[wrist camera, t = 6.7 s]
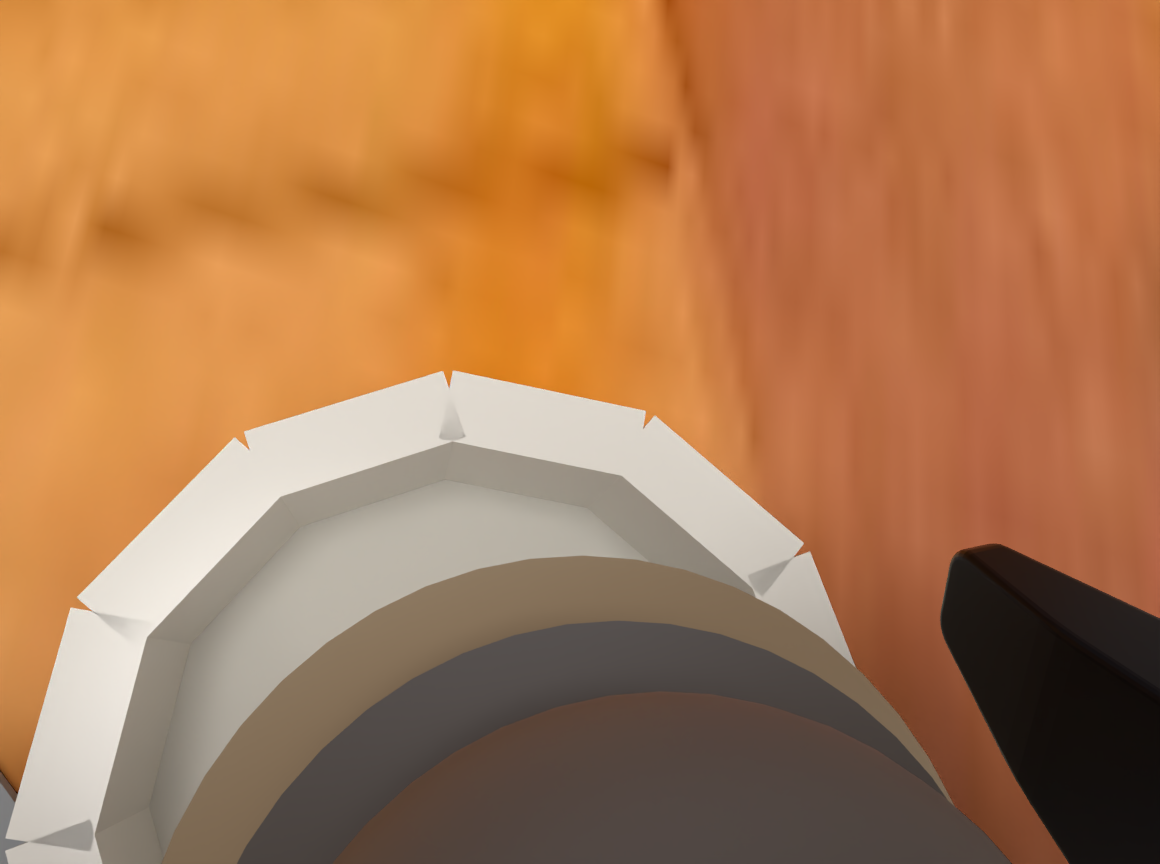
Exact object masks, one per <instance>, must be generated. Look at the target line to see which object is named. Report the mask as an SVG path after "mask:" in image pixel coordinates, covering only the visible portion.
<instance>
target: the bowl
mask: <svg viewBox="0 0 1160 864" xmlns="http://www.w3.org/2000/svg"><path fill="white" fill-rule="evenodd" d="M645 414H646V411H644V410H639V409H634V408H629V407H625V406H620V405H615V404H610V403H606V402H601V401H596V400H591V399H587V398H582V397H577V396H572V395H568V394H563V393H558V392H553V391H549V390H544V389H539V388H534V387H529V386H525V385H520V384H515V383H510V382H506V381H501V380H496V379H491V378H487V377H482V376H477V375H472V374H468V373H463V372H458V371H453V373H452V378H451V383H450V387H448V384H447V381H446V378H445V376H444V373H443V371H441V372H438V373H434V374H431V375H428V376H424V377H421V378H418V379H415V380H411V381H408V382H405V383H402V384H398V385H395V386H392V387H388V388H385V389H382V390H379V391H375V392H372V393H369V394H366V395H362V396H359V397H356V398H352V399H349V400H346V401H343V402H339V403H336V404H333V405H329V406H326V407H323V408H320V409H316V410H313V411H310V412H307V413H303V414H300V415H297V416H293V417H290V418H287V419H284V420H280V421H277V422H274V423H270V424H267V425H264V426H261V427H257V428H254V429H251V430H248V431H244V433H245V436H246V440H247V443H248V446H249V449H250V450H249V449H248V448H246V447H245V446H244V445H243V444H242V443H241V442H239V441H238V440H237V439H236V438H235V437H234V438H233V439H232V440H231V441H230V442H229V443H228V444H227V445H226V446H225V447H224V448H223V450H222V451H221V452H220V453H219V454H218V455H217V456H216V457H215V458H214V459H213V460H212V461H211V462H210V463H209V464H208V465H207V466H206V467H205V468H204V469H203V470H202V471H201V472H200V473H199V474H198V475H197V476H196V477H195V478H194V479H193V480H192V481H191V482H190V483H189V484H188V485H187V486H186V487H185V488H184V489H183V490H182V491H181V492H180V493H179V494H178V495H177V496H176V497H175V498H174V499H173V500H172V501H171V502H170V503H169V504H168V505H167V506H166V507H165V508H164V509H163V510H162V511H161V512H160V513H159V514H158V515H157V516H156V518H155V519H154V520H153V521H152V522H151V523H150V524H149V525H148V526H147V527H146V528H145V529H144V530H143V531H142V532H141V533H140V534H139V535H138V536H137V537H136V538H135V539H134V540H133V541H132V542H131V543H130V544H129V545H128V546H127V547H126V548H125V549H124V550H123V551H122V552H121V553H120V554H119V555H118V556H117V557H116V558H115V559H114V560H113V561H112V562H111V563H110V564H109V565H108V566H107V567H106V568H105V569H104V570H103V571H102V572H101V573H100V574H99V575H98V576H97V577H96V578H95V579H94V580H93V581H92V582H91V583H90V585H89V586H88V587H87V588H86V589H85V590H84V591H83V592H82V593H81V594H80V595H79V596H78V597H77V598H78V599H79V600H80V601H81V602H83V603H84V604H85V605H86V606H87V607H88V608H89V609H91V610H92V611H93V612H92V611H87V610H81V609H75V608H71V609H70V612H69V616H68V619H67V623H66V626H65V630H64V633H63V637H62V640H61V644H60V647H59V651H58V654H57V658H56V661H55V665H54V668H53V672H52V675H51V679H50V682H49V686H48V690H47V693H46V697H45V700H44V704H43V707H42V711H41V714H40V718H39V721H38V725H37V728H36V732H35V735H34V739H33V742H32V746H31V749H30V753H29V756H28V760H27V763H26V767H25V771H24V774H23V778H22V781H21V785H20V788H19V792H18V795H17V799H16V802H15V806H14V809H13V813H12V816H11V820H10V823H9V827H8V830H7V834H6V837H5V838H6V839H13V840H19V841H26V842H24V843H22V844H20V845H17V846H15V847H13V848H10V849H8V850H6V851H5V853H6V856H7V860H8V864H161V863H162V861H163V858H164V856H165V853H166V851H167V848H168V846H169V843H170V841H171V838H172V836H173V833H174V831H175V829H176V828H177V826H178V824H179V822H180V820H181V818H182V817H183V815H184V813H185V811H186V809H187V807H188V806H189V804H190V802H191V800H192V798H193V796H194V795H195V793H196V791H197V789H198V787H199V785H200V784H201V782H202V780H203V778H204V776H205V775H206V773H207V772H208V771H209V769H210V768H211V766H212V765H213V764H214V762H215V761H216V759H217V758H218V757H219V755H220V754H221V752H222V751H223V750H224V748H225V747H226V745H227V744H228V743H229V741H230V740H231V738H232V737H233V736H234V734H235V733H236V731H237V730H238V729H239V727H240V726H241V725H242V724H243V723H244V721H245V720H246V719H247V718H248V717H249V716H250V715H251V714H252V713H253V712H254V711H255V709H256V708H257V707H258V706H259V705H260V704H261V703H262V702H263V701H264V700H265V699H266V697H267V696H268V695H269V694H270V693H271V692H272V691H273V690H274V689H275V688H276V687H277V685H278V684H279V683H280V682H281V681H282V680H283V679H285V678H286V677H287V676H288V675H289V674H290V673H292V672H293V671H294V670H295V669H296V668H297V667H299V666H300V665H301V664H302V663H303V662H305V661H306V660H307V659H308V658H309V657H310V656H312V655H313V654H314V653H315V652H316V651H317V650H319V649H320V648H321V647H322V646H323V645H325V644H326V643H327V642H328V641H330V640H331V639H333V638H335V637H336V636H338V635H339V634H341V633H342V632H344V631H345V630H347V629H348V628H350V627H351V626H353V625H354V624H356V623H357V622H359V621H361V620H362V619H364V618H365V617H367V616H368V615H370V614H371V613H373V612H374V611H376V610H378V609H380V608H382V607H384V606H386V605H388V604H390V603H393V602H395V601H397V600H399V599H401V598H403V597H405V596H407V595H409V594H411V593H413V592H415V591H417V590H419V589H421V588H423V587H425V586H428V585H431V584H434V583H437V582H440V581H443V580H446V579H449V578H452V577H455V576H458V575H461V574H464V573H467V572H470V571H473V570H476V569H480V568H486V567H491V566H496V565H501V564H506V563H511V562H516V561H521V560H527V559H535V558H552V557H568V556H595V557H609V558H623V559H636V560H640V561H645V562H650V563H655V564H660V565H665V566H669V567H674V568H679V569H684V570H687V571H690V572H693V573H696V574H699V575H702V576H705V577H707V578H710V579H713V580H716V581H719V582H722V583H725V584H727V585H730V586H733V587H735V588H737V589H739V590H741V591H743V592H745V593H747V594H749V595H751V596H753V597H755V598H757V599H759V600H761V601H763V602H765V603H767V604H769V605H771V606H773V607H775V608H777V609H779V610H781V611H782V612H784V613H785V614H787V615H788V616H790V617H791V618H793V619H794V620H796V621H797V622H799V623H800V624H802V625H803V626H805V627H806V628H808V629H809V630H810V631H812V632H813V633H815V634H816V635H818V636H819V637H821V638H822V639H824V640H825V641H826V642H827V643H828V644H829V645H831V646H832V647H833V648H834V649H835V650H836V651H837V652H839V653H840V654H841V655H842V656H843V657H844V658H845V659H846V660H848V661H849V662H850V663H851V664H852V665H853V666H854V667H855V664H854V662H853V659H852V657H851V654H850V652H849V649H848V647H847V644H846V642H845V639H844V636H843V634H842V631H841V629H840V626H839V624H838V621H837V619H836V616H835V614H834V611H833V609H832V606H831V604H830V601H829V598H828V596H827V593H826V591H825V588H824V586H823V583H822V581H821V578H820V576H819V573H818V571H817V568H816V566H815V563H814V560H813V558H812V555H811V553H810V552H807V553H803V554H800V555H797V556H795V554H796V553H797V552H798V550H799V549H800V548H801V547H802V545H803V544H804V543H803V542H802V541H801V540H800V539H799V538H797V537H796V536H795V535H794V534H793V533H792V532H790V531H789V530H788V529H787V528H786V527H785V526H783V525H782V524H781V523H780V522H779V521H778V520H776V519H775V518H774V517H773V516H772V515H771V514H769V513H768V512H767V511H766V510H765V509H764V508H762V507H761V506H760V505H759V504H758V503H757V502H755V501H754V500H753V499H752V498H751V497H750V496H748V495H747V494H746V493H745V492H744V491H743V490H741V489H740V488H739V487H738V486H737V485H736V484H734V483H733V482H732V481H731V480H730V479H729V478H727V477H726V476H725V475H724V474H723V473H722V472H720V471H719V470H718V469H717V468H716V467H715V466H713V465H712V464H711V463H710V462H709V461H708V460H706V459H705V458H704V457H703V456H702V455H701V454H699V453H698V452H697V451H696V450H695V449H694V448H692V447H691V446H690V445H689V444H688V443H687V442H685V441H684V440H683V439H682V438H681V437H680V436H678V435H677V434H676V433H675V432H674V431H673V430H671V429H670V428H669V427H668V426H667V425H666V424H664V423H663V422H662V421H661V420H660V419H659V418H657V417H656V416H654V417H653V418H652V419H651V420H650V421H649V422H648V423H647V424H646V425H645V426H644V420H645ZM643 426H644V427H643Z"/></svg>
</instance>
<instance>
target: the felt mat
mask: <svg viewBox="0 0 1160 864" xmlns="http://www.w3.org/2000/svg"><path fill="white" fill-rule="evenodd" d="M16 799H17V793H16V792H15V791H14V789H13V788H12V787H11V785H10V784H9V782H8V781H7V780H6V778H5V777H4V776H3V774H2V773H1V771H0V864H8V860H7V856H6V853H5V851H6V850H8V849H10V848H13V847H15V846H17V845H20V844H22V843H24V842H26V841H19V840H13V839H6V838H5V837H6V834H7V830H8V827H9V823H10V820H11V816H12V813H13V809H14V806H15V802H16Z"/></svg>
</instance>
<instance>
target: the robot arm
mask: <svg viewBox="0 0 1160 864" xmlns="http://www.w3.org/2000/svg"><path fill="white" fill-rule="evenodd" d="M940 621H941V629H942V633H943V636H944V639H945V642H946V644H947V646H948V648H949V650H950V652H951V654H952V656H953V658H954V660H955V662H956V664H957V666H958V668H959V670H960V672H961V674H962V676H963V678H964V680H965V681H966V683H967V685H968V687H969V689H970V691H971V693H972V695H973V697H974V699H975V701H976V703H977V705H978V707H979V709H980V711H981V713H982V715H983V717H984V719H985V721H986V723H987V725H988V727H989V729H990V731H991V733H992V735H993V737H994V739H995V741H996V743H997V745H998V747H999V749H1000V751H1001V753H1002V755H1003V757H1004V759H1005V761H1006V762H1007V764H1008V766H1009V768H1010V770H1011V772H1012V773H1013V775H1014V777H1015V779H1016V781H1017V782H1018V784H1019V786H1020V787H1021V789H1022V790H1023V792H1024V794H1025V795H1026V797H1027V799H1028V800H1029V802H1030V804H1031V805H1032V807H1033V808H1034V810H1035V811H1036V813H1037V814H1038V816H1039V817H1040V819H1041V821H1042V822H1043V824H1044V825H1045V827H1046V828H1047V830H1048V831H1049V833H1050V835H1051V836H1052V838H1053V839H1054V841H1055V842H1056V844H1057V845H1058V847H1059V849H1060V850H1061V852H1062V853H1063V855H1064V856H1065V858H1066V859H1067V861H1068V863H1069V864H1160V618H1158V617H1156V616H1153V615H1151V614H1149V613H1147V612H1145V611H1143V610H1141V609H1138V608H1136V607H1134V606H1132V605H1130V604H1128V603H1126V602H1123V601H1121V600H1119V599H1117V598H1115V597H1113V596H1111V595H1109V594H1106V593H1104V592H1102V591H1100V590H1098V589H1096V588H1094V587H1091V586H1089V585H1087V584H1085V583H1083V582H1081V581H1079V580H1077V579H1074V578H1072V577H1070V576H1068V575H1066V574H1064V573H1062V572H1059V571H1057V570H1055V569H1053V568H1051V567H1049V566H1047V565H1044V564H1042V563H1040V562H1038V561H1036V560H1034V559H1032V558H1030V557H1027V556H1025V555H1023V554H1021V553H1019V552H1017V551H1015V550H1012V549H1010V548H1008V547H1006V546H1003V545H1001V544H987V545H982V546H977V547H973V548H968V549H963V550H960V551H959V552H957V553H956V554H955V555H954V557H953V558H952V560H951V563H950V567H949V573H948V578H947V583H946V588H945V593H944V598H943V604H942V609H941V616H940Z"/></svg>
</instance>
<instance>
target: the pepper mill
mask: <svg viewBox="0 0 1160 864" xmlns="http://www.w3.org/2000/svg"><path fill="white" fill-rule="evenodd" d="M161 864H1012V863H1011V862H1010V861H1009V860H1008V859H1007V858H1006V856H1005V855H1004V854H1003V853H1002V852H1001V851H1000V850H999V849H998V847H997V846H996V845H995V844H994V843H993V842H992V841H991V840H990V838H989V837H988V836H987V835H986V834H985V833H984V832H983V831H982V830H981V829H980V828H979V827H978V826H976V825H975V824H974V823H973V822H972V821H971V820H970V819H968V818H967V817H966V816H965V815H964V814H963V813H962V812H961V811H959V810H958V809H957V808H956V807H955V806H954V804H953V802H952V800H951V798H950V797H949V795H948V793H947V791H946V789H945V787H944V785H943V783H942V781H941V780H940V778H939V776H938V774H937V772H936V770H935V768H934V766H933V764H932V763H931V761H930V759H929V757H928V756H927V754H926V753H925V752H924V750H923V749H922V747H921V746H920V744H919V743H918V741H917V740H916V739H915V737H914V736H913V734H912V733H911V731H910V730H909V728H908V727H907V726H906V724H905V723H904V721H903V720H902V718H901V717H900V715H899V714H898V713H897V712H896V711H895V709H894V708H893V707H892V706H891V705H890V704H889V703H888V702H887V700H886V699H885V698H884V697H883V696H882V695H881V694H880V693H879V691H878V690H877V689H876V688H875V687H874V686H873V685H872V684H871V682H870V681H869V680H868V679H867V678H866V677H865V676H864V675H863V674H862V673H861V672H860V671H859V670H858V669H857V668H856V667H854V666H853V665H852V664H851V663H850V662H849V661H848V660H846V659H845V658H844V657H843V656H842V655H841V654H840V653H839V652H837V651H836V650H835V649H834V648H833V647H832V646H831V645H829V644H828V643H827V642H826V641H825V640H824V639H822V638H821V637H819V636H818V635H816V634H815V633H813V632H812V631H810V630H809V629H808V628H806V627H805V626H803V625H802V624H800V623H799V622H797V621H796V620H794V619H793V618H791V617H790V616H788V615H787V614H785V613H784V612H782V611H781V610H779V609H777V608H775V607H773V606H771V605H769V604H767V603H765V602H763V601H761V600H759V599H757V598H755V597H753V596H751V595H749V594H747V593H745V592H743V591H741V590H739V589H737V588H735V587H733V586H730V585H727V584H725V583H722V582H719V581H716V580H713V579H710V578H707V577H705V576H702V575H699V574H696V573H693V572H690V571H687V570H684V569H679V568H674V567H669V566H665V565H660V564H655V563H650V562H645V561H640V560H636V559H623V558H609V557H595V556H568V557H552V558H535V559H527V560H521V561H516V562H511V563H506V564H501V565H496V566H491V567H486V568H480V569H476V570H473V571H470V572H467V573H464V574H461V575H458V576H455V577H452V578H449V579H446V580H443V581H440V582H437V583H434V584H431V585H428V586H425V587H423V588H421V589H419V590H417V591H415V592H413V593H411V594H409V595H407V596H405V597H403V598H401V599H399V600H397V601H395V602H393V603H390V604H388V605H386V606H384V607H382V608H380V609H378V610H376V611H374V612H373V613H371V614H370V615H368V616H367V617H365V618H364V619H362V620H361V621H359V622H357V623H356V624H354V625H353V626H351V627H350V628H348V629H347V630H345V631H344V632H342V633H341V634H339V635H338V636H336V637H335V638H333V639H331V640H330V641H328V642H327V643H326V644H325V645H323V646H322V647H321V648H320V649H319V650H317V651H316V652H315V653H314V654H313V655H312V656H310V657H309V658H308V659H307V660H306V661H305V662H303V663H302V664H301V665H300V666H299V667H297V668H296V669H295V670H294V671H293V672H292V673H290V674H289V675H288V676H287V677H286V678H285V679H283V680H282V681H281V682H280V683H279V684H278V685H277V687H276V688H275V689H274V690H273V691H272V692H271V693H270V694H269V695H268V696H267V697H266V699H265V700H264V701H263V702H262V703H261V704H260V705H259V706H258V707H257V708H256V709H255V711H254V712H253V713H252V714H251V715H250V716H249V717H248V718H247V719H246V720H245V721H244V723H243V724H242V725H241V726H240V727H239V729H238V730H237V731H236V733H235V734H234V736H233V737H232V738H231V740H230V741H229V743H228V744H227V745H226V747H225V748H224V750H223V751H222V752H221V754H220V755H219V757H218V758H217V759H216V761H215V762H214V764H213V765H212V766H211V768H210V769H209V771H208V772H207V773H206V775H205V776H204V778H203V780H202V782H201V784H200V785H199V787H198V789H197V791H196V793H195V795H194V796H193V798H192V800H191V802H190V804H189V806H188V807H187V809H186V811H185V813H184V815H183V817H182V818H181V820H180V822H179V824H178V826H177V828H176V829H175V831H174V833H173V836H172V838H171V841H170V843H169V846H168V848H167V851H166V853H165V856H164V858H163V861H162V863H161Z"/></svg>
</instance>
